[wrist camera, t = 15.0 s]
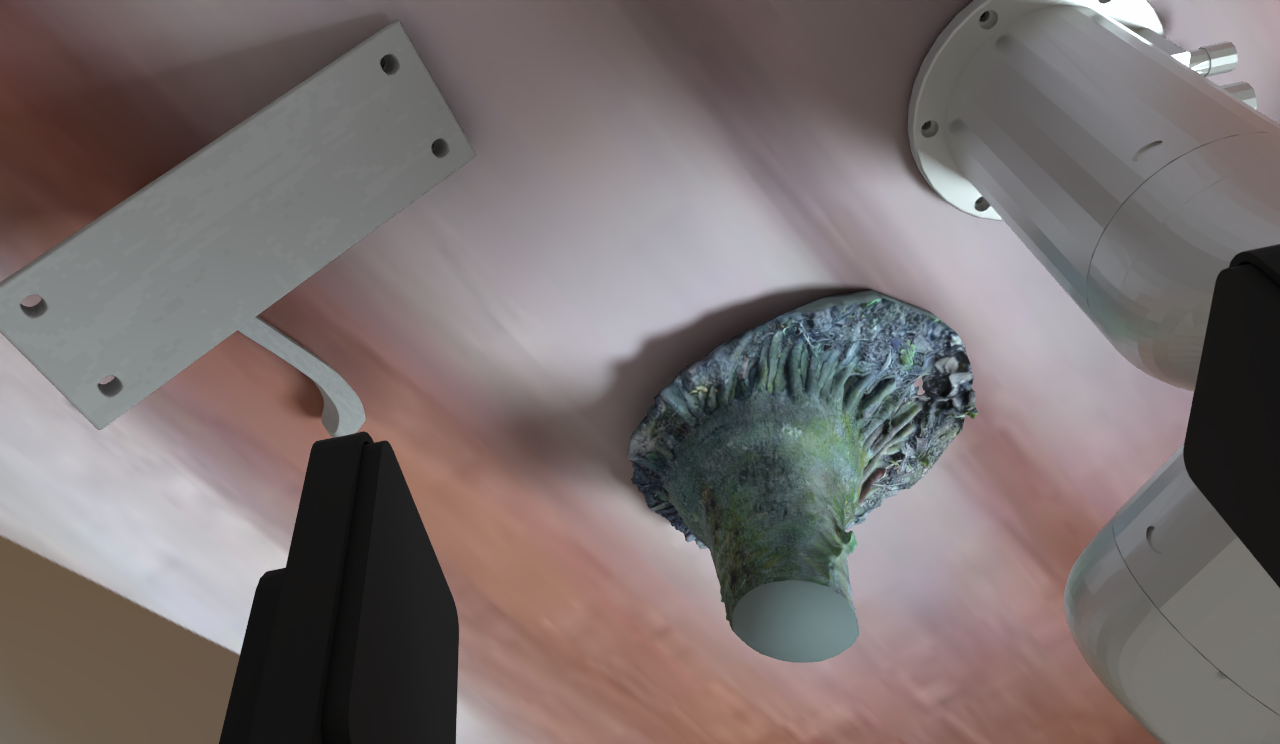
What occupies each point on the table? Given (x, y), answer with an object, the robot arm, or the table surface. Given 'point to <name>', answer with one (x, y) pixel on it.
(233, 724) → the robot arm
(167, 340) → the door handle
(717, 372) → the tree stump
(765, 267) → the table surface
